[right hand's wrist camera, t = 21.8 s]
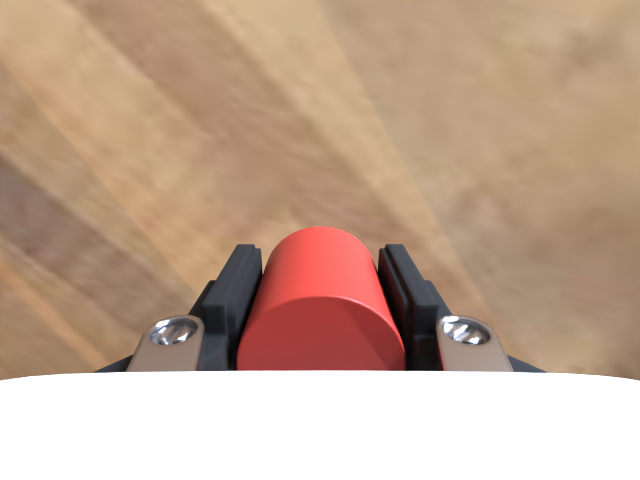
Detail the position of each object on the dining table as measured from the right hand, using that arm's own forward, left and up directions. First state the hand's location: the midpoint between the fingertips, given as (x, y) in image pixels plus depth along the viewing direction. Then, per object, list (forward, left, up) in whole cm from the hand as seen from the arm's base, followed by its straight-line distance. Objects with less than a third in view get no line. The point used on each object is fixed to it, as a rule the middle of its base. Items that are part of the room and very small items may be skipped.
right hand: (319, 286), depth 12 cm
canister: (0, 0, 0) cm, 0 cm away
